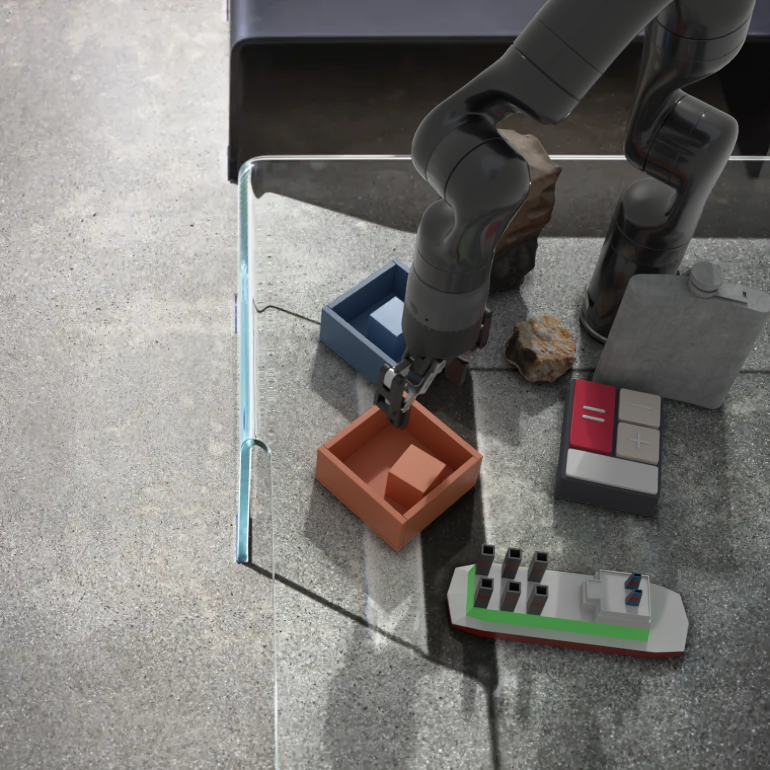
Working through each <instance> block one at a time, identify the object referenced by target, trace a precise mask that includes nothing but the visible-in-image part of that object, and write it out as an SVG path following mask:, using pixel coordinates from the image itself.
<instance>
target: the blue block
mask: <svg viewBox="0 0 770 770" xmlns="http://www.w3.org/2000/svg"><path fill="white" fill-rule="evenodd" d="M403 307H404V302H402V301H401V300H400V299H398V298H397V297H394V298H393V299H391V300H390V301H388V302H387V303H385V304H384V305H383V306H381V307H380V308H378V309H377V310H376V311H374V312H373V313H371V314H370V315H369V322H368V330H367V339H368V340H369V341H370V342H372V343H373V344H374V345H375V346H376V347H378V348H379V349H380V350H381V351H383V352H384V353H385V354H386V355H387V356H389V357H390V358H391V359H392V360H395V359H396V358H397V357H399V356H400V355H401V354H403V353H404V352H405V349H406V347H407V345H406V341H405V338H404V336H403V332H402V328H401V321H402V314H403Z"/></svg>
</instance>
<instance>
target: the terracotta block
mask: <svg viewBox="0 0 770 770" xmlns="http://www.w3.org/2000/svg"><path fill="white" fill-rule="evenodd" d="M445 468H446V464H444V463H442V462H441V461H439V460H437V459H436V458H434V457H432V456H431V455H429V454H427V453H426V452H424V451H422V450H421V449H419V448H417V447H416V446H414V445H412V444H411V445H410V446H409V447H408V449H407V450H406V451H405V452H404V453H403V455H402V456H401V457H400V458H399V459H398V460H397V462H396V463H395V464H394V465H393V466H392V468H391V469H390V470H389V472H388V477H387V483H386V489H385V494H386V495H387V496H389V497H390V498H392V499H394V500H395V501H397V502H398V503H400V504H402V505H403V506H405V507H406V508H408V509H411V508H412V507H413V506H414V505H416V504H417V503H418V502H419V501H420V500H422V499H423V498H424V497H425V496H426V495H427V494H429V493H430V492H431V491H432V490H433V489H435V488H436V487H437V486H438V485H439V484H441V483H442V480H443V476H444V472H445Z"/></svg>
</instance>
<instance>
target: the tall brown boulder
mask: <svg viewBox="0 0 770 770" xmlns="http://www.w3.org/2000/svg"><path fill="white" fill-rule="evenodd" d="M496 128H497V127H496ZM497 129H498V130H499V131H500V132H501V133H502V134H503V135H504V136H505V137H506V138H507V139H508V140H509V141H510V142H511V143H512V144H513V145H514V146H515V147H516V148H517V149H518V150H519V151H520V152H521V153H522V154H523V156H524V157H525V158H526V160H527V162H528V165H529V168H530V173H531V188H530V192H529V195H528V198H527V199H526V201H525V203H524V204H523V206H522V207H521V208H520V210H519V211H518V213H517V214H516V215H515V217H514V218H513V220H512V221H511V223H510V224H509V226H508V228H507V229H506V231H505V233H504V234H503V236H502V237H501V239H500V241H499V242H498V244H497V246H496V250H495V254H494V258H493V263H492V267H491V272H490V286H489V293H488V295H492V294H494V293H497V292H499V291H500V290H513V289H516V288H517V287H519V286H520V285H521V284H523V283H524V281H525V277H526V275H528V274H529V273H530V272H532V271H533V270H534V269H535V267H536V257H537V250H538V248H539V241H538V238H539V237H540V234H541V232H542V231H543V229H544V228H545V227H546V226H547V224H549V223H550V222H551V219H552V217H553V211H554V206H555V204H556V194H555V192H556V184H557V182H558V179H559V177H560V175H561V174H562V171H563V167H562V166H561V165H560V164H558V163H556V162H554V161H553V160H552V159H551V158H550V155H549V154H548V152H547V151H546V149H545V147H544V146H543V144H542V143H541V141H540V139H538V137H537V136H535V135H533V134H530V133H528V134H521V133H518V132H517V131H516V130H514V129H503V128H497ZM440 199H442V197H441V196H440V195H439V196H438V198H437V199H436V201H437V200H440Z"/></svg>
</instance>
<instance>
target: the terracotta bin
mask: <svg viewBox="0 0 770 770" xmlns="http://www.w3.org/2000/svg"><path fill="white" fill-rule="evenodd" d="M408 393H409V392H405V391H404V392H403V397H405V398H406V397H407V395H408ZM411 444H412V445H414V446H416V447H417V448H419V449H421V450H422V451H424V452H426V453H427V454H429V455H431V456H432V457H434V458H436V459H437V460H439V461H441V462H442V463H444V464H446V468H445V472H444V476H443V480H442V483H441V484H439V485H438V486H437V487H436V488H435V489H433V490H432V491H431V492H430V493H429V494H427V495H426V496H425V497H424V498H423V499H422V500H420V501H419V502H418V503H417V504H416V505H414V506H413V507H412V508H411V509H408V508H406V507H405V506H403V505H402V504H400V503H398V502H397V501H395V500H394V499H392V498H390V497H389V496H387V495H386V494H385V489H386V483H387V477H388V472H389V470H390V469H391V468H392V466H393V465H394V464H395V463H396V462H397V460H398V459H399V458H400V457H401V456H402V455H403V453H404V452H405V451H406V450H407V449H408V447H409V446H410V445H411ZM483 459H484V455H483V454H482V453H480V452H479V451H478V450H477V449H475V447H473V446H472V445H470V444H469V443H468V442H467V441H466V440H465V439H464V438H462V437H461V436H460V435H459V434H458V433H456V432H455V431H454V430H452V429H451V428H450V427H449V426H448V425H447V424H445V423H444V422H443V421H442V420H440V419H439V418H438V417H437V416H436V415H434V413H432V412H431V411H430V410H428V408H426V407H425V406H423V405H422V404H421V403H420V402H419V401H418V400H416V399H415V401H414V402H413V404H412V405H411V412H410V418H409V424H408V426H407V427H406V428H405V429H404V430H400V429H399V428H398V429H397V428H396V427H395V426H393V425H392V424H391V423H390V422H389V421H388V420H387V415H386V414H385V413H384V412H383V411H382V410H381V409H379V408H378V407H377V406H376V405H375V404H373V406H372V407H371V408H369V409H368V410H367V411H365V412H364V413H362V414H361V415H360V416H359V417H357V418H356V419H354V420H353V421H351V423H349V424H348V425H346V427H344V428H343V429H341V430H340V431H339V432H338V433H336V434H335V435H334V436H332V437H331V438H329V439H328V440H327V441H326V442H324V443H323V444H322V445H320V446H319V447H318V448H317V450H316V460H315V461H316V462H315V473H314V478H315V480H316V481H318V482H319V483H320V484H321V485H322V486H323V487H324V488H326V489H327V491H329V492H330V493H331V494H332V495H333V496H334V497H336V499H338V500H339V501H340V502H341V503H342V504H343V505H344V506H346V507H347V508H348V509H349V510H350V511H351V512H352V513H353V514H355V515H356V516H357V517H358V518H359V519H360V520H361V521H362V522H363V523H364V524H365V525H366V526H368V527H369V529H370V530H372V531H373V532H374V533H375V534H376V535H378V536H379V537H380V538H381V539H382V540H383V541H384V542H385V543H387V544H388V545H389V547H391V548H392V549H393V550H394V551H395V552H396V553H398V552H399V551H400V550H401V549H402V548H404V547H405V546H406V545H408V543H409V542H411V541H412V540H413V539H414V538H415V537H416V536H418V535H419V534H420V533H421V532H422V531H423V530H425V529H426V528H427V527H428V526H429V525H430V524H431V523H433V522H434V521H435V520H436V519H437V518H438V517H439V516H441V515H442V514H443V513H445V511H447V510H448V509H449V508H450V507H451V506H452V505H454V504H455V503H456V502H457V501H458V500H459V499H460V498H462V497H463V496H464V495H465V494H466V493H468V492H469V491H470V490H471V489H472V488H473V487H474V486H476V484H477V481H478V477H479V473H480V470H481V467H482V462H483Z"/></svg>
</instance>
